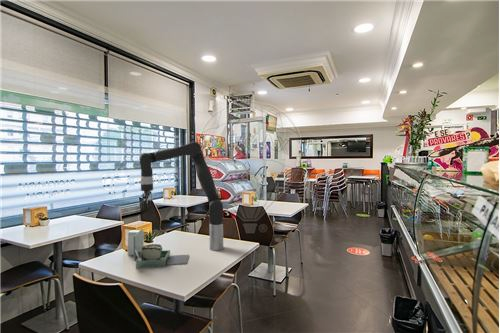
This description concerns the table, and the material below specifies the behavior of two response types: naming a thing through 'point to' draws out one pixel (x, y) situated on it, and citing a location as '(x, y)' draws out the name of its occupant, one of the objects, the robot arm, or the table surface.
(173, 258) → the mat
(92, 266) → the table surface
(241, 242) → the table surface
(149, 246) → the food container
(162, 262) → the case
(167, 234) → the table surface
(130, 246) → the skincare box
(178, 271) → the table surface
